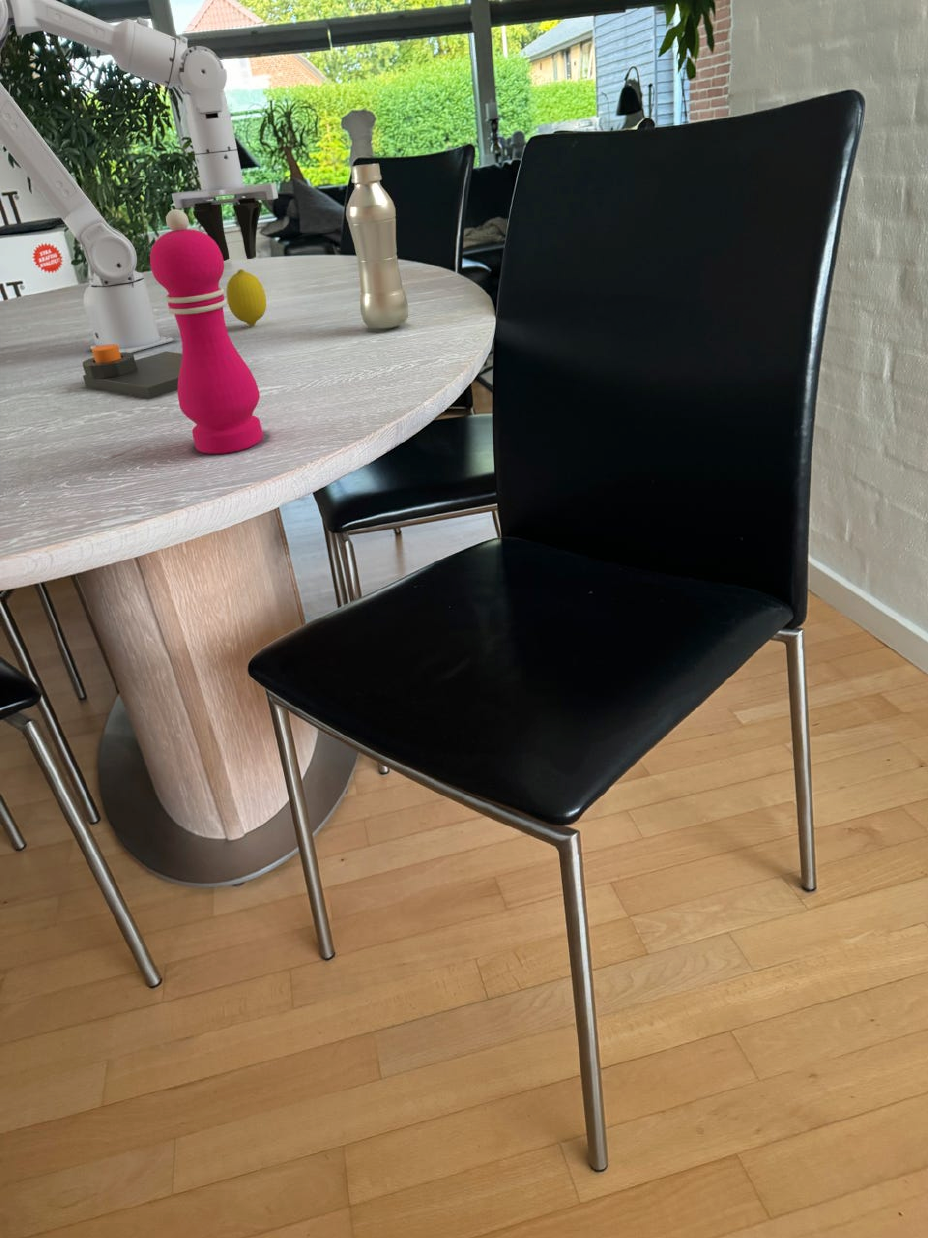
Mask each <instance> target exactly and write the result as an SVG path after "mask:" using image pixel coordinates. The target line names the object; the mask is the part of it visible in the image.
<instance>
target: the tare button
mask: <svg viewBox="0 0 928 1238" xmlns="http://www.w3.org/2000/svg"><path fill="white" fill-rule="evenodd" d="M91 353H92V356H93V357H94V359H95V362H96V363H105V362H110V361H115V360H118V359H121V355H120V352H119V348H118V345H116V344H108V345H102V346H98V347H95V348H93V349H91Z"/></svg>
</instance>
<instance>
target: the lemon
mask: <svg viewBox="0 0 928 1238" xmlns="http://www.w3.org/2000/svg"><path fill="white" fill-rule="evenodd" d="M226 299H227V300H226V301H227V304H228V308H229V310H230V311H231V313H232V315H233V316H234V317H235V318H236V319H237V320H238V321H240V322H244V323H245V324H247V325H248V326H249V327H255V325H256V323H257V322H258V321H259V320H260V319H262V317H264V314H265V313H266V310H267V297H266V293H265V289H264V287H263V285H262V283H261V281H260V280H259V279H258V277H256V276H255V275H254V274H253V273H251V272H247V271H245V270H244V269H238V270H237V272H236V273H234V274H233V275H232V276H231V277H230V278H229V280H228V282H227V284H226Z"/></svg>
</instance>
